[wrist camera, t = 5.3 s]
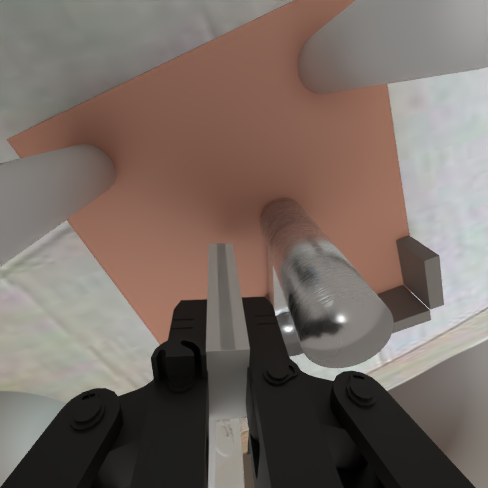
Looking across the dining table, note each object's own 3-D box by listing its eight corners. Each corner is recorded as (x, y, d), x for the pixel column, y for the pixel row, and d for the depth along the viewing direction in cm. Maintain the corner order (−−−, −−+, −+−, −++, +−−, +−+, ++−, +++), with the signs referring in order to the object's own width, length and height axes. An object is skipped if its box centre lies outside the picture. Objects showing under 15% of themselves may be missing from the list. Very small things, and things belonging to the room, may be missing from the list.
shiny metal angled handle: (306, 325, 22) (367, 476, 13) (260, 329, 22) (289, 486, 13) (311, 196, 17) (411, 289, 8) (253, 201, 17) (291, 301, 8)
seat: (29, 136, 17) (-316, 184, 6) (351, -19, 15) (705, -364, 4) (184, 355, 25) (158, 538, 14) (402, 275, 23) (559, 418, 13)
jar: (255, 399, 29) (276, 574, 18) (200, 437, 31) (189, 615, 20) (188, 356, 25) (165, 538, 15) (132, 402, 27) (75, 592, 17)
